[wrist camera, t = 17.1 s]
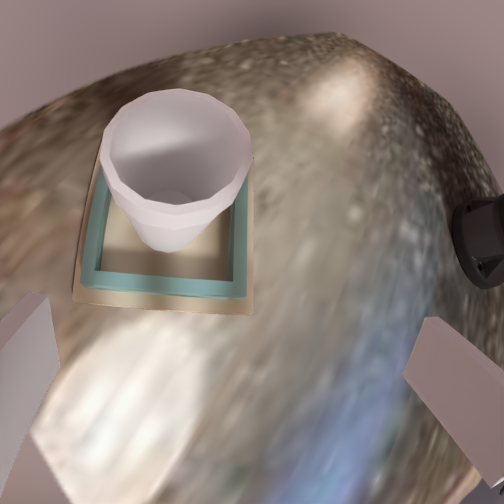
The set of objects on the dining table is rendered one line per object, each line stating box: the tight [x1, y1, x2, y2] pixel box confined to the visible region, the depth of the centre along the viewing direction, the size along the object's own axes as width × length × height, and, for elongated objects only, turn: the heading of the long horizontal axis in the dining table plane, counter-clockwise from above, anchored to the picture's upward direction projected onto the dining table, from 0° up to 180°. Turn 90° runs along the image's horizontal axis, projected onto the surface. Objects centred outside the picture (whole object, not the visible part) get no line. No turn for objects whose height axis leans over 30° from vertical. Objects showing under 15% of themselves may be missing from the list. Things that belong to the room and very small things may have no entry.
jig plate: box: [72, 142, 254, 315], centre depth 30 cm, size 17×17×4 cm
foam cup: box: [100, 88, 253, 253], centre depth 24 cm, size 10×9×13 cm
